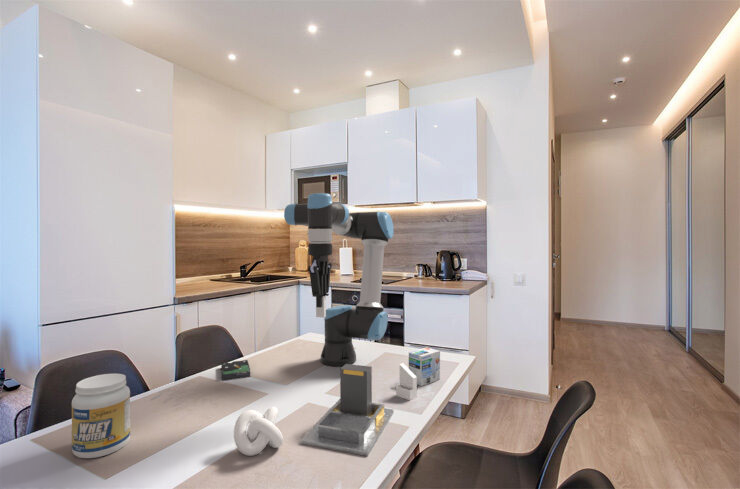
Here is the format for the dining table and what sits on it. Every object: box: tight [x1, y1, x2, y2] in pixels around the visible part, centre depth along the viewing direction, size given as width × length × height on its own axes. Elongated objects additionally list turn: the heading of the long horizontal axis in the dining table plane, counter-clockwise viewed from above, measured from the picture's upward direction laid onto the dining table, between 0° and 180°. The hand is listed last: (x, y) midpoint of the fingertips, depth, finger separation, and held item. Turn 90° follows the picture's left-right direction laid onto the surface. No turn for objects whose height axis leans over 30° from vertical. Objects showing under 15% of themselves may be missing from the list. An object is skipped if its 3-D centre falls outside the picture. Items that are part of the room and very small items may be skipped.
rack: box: [300, 398, 395, 457], centre depth 107 cm, size 24×18×4 cm
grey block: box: [339, 363, 373, 416], centre depth 111 cm, size 4×8×14 cm, turn 72°
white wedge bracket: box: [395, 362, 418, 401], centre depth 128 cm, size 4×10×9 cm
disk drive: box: [220, 359, 251, 381], centre depth 151 cm, size 10×3×15 cm
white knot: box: [233, 406, 284, 457], centre depth 97 cm, size 11×12×9 cm
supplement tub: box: [71, 372, 131, 459], centre depth 97 cm, size 12×12×17 cm
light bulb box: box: [408, 346, 441, 387], centre depth 141 cm, size 11×7×11 cm, turn 131°
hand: (321, 316), depth 122 cm, fingers closed
